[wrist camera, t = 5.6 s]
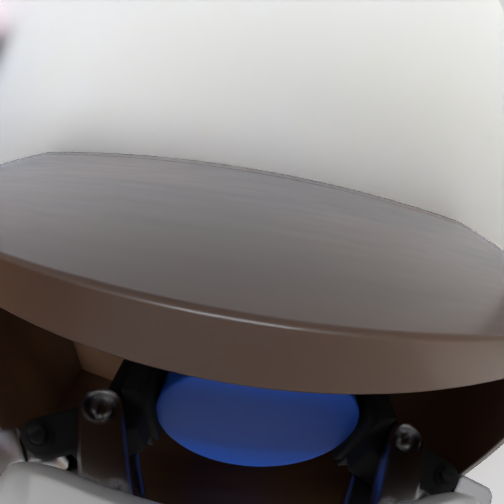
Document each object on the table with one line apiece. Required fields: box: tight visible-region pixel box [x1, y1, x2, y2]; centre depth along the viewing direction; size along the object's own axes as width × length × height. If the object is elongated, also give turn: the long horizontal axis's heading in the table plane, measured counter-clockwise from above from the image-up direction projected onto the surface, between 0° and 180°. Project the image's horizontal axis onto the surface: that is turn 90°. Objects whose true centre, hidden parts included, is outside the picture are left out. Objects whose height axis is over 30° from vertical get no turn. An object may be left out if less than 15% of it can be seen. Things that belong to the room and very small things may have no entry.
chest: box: [0, 152, 504, 504], centre depth 8 cm, size 18×13×8 cm
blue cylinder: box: [156, 371, 359, 467], centre depth 9 cm, size 6×6×4 cm
